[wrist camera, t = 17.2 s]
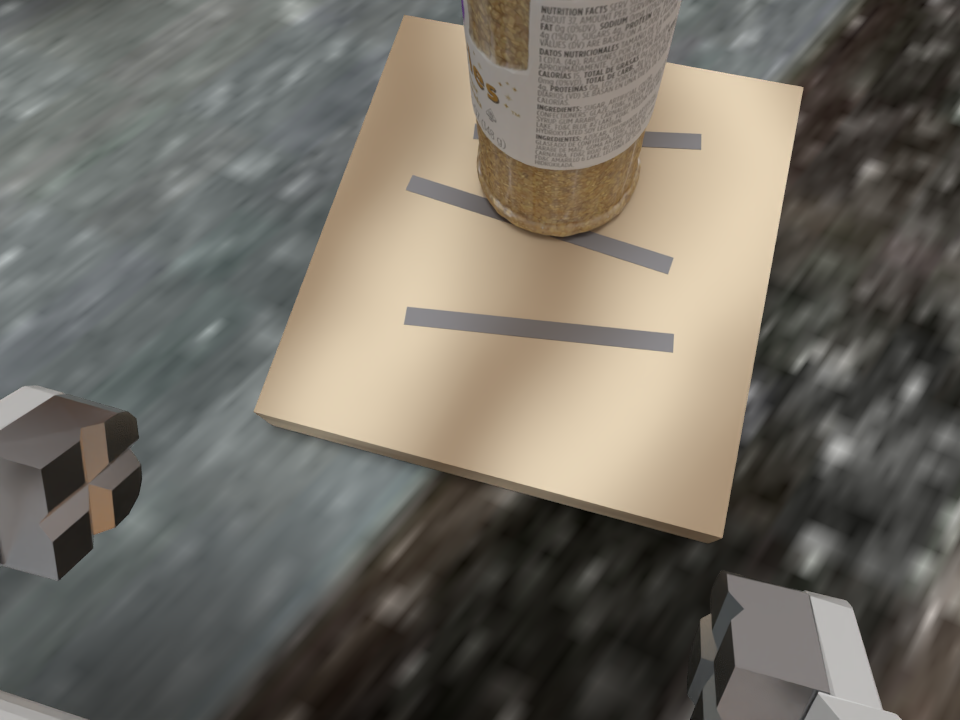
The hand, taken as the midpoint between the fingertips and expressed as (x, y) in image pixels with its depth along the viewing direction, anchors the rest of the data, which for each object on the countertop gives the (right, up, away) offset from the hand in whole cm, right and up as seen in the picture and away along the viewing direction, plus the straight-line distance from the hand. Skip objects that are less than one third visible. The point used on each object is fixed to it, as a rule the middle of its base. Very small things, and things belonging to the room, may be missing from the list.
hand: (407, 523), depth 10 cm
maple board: (+3, +5, +12) cm, 13 cm away
